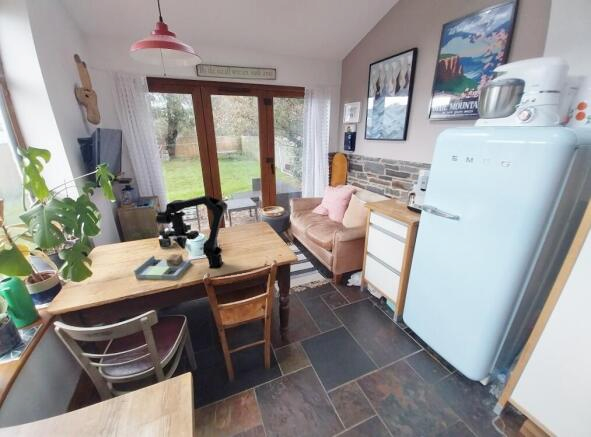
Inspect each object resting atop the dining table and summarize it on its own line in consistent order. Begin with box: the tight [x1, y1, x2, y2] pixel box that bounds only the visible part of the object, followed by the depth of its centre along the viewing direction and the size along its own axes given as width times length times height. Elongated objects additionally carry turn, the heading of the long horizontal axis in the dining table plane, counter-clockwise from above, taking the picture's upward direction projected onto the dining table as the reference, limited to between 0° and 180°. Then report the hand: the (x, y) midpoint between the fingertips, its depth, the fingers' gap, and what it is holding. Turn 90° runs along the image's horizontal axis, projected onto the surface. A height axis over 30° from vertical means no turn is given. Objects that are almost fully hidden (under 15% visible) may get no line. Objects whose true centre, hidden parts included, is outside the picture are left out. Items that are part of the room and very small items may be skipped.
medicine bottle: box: [158, 227, 175, 249], centre depth 164 cm, size 7×7×12 cm
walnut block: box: [166, 253, 184, 266], centre depth 138 cm, size 6×6×4 cm
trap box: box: [133, 254, 192, 280], centre depth 136 cm, size 23×16×5 cm
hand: (183, 248), depth 138 cm, fingers closed
